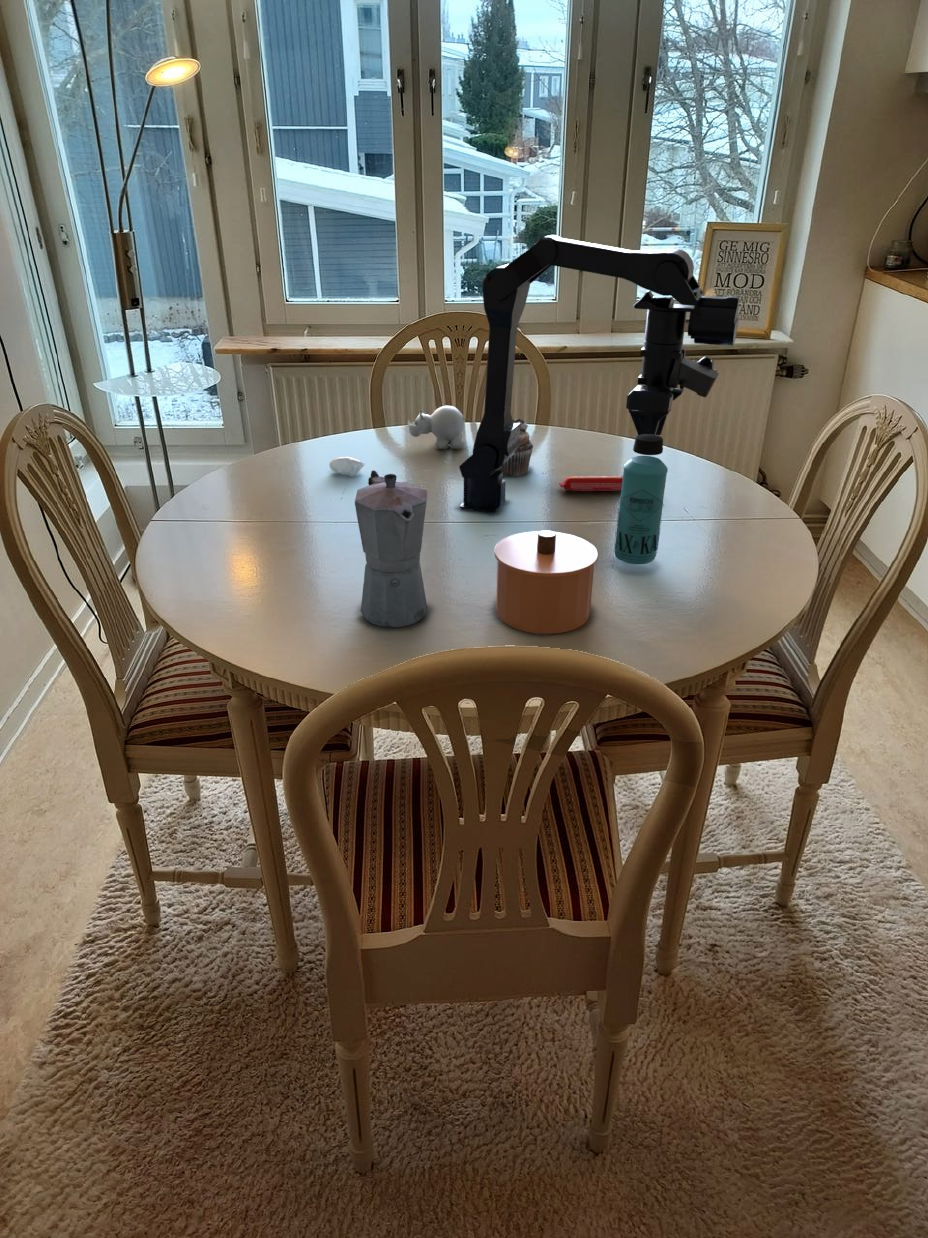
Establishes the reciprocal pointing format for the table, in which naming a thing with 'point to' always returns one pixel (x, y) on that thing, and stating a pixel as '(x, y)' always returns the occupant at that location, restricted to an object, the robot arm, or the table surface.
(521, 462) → the cupcake
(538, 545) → the pot lid
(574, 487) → the candy bar
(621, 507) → the beverage bottle
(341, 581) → the table surface
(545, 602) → the pot
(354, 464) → the dumpling
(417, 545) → the moka pot
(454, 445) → the toy rhinoceros
